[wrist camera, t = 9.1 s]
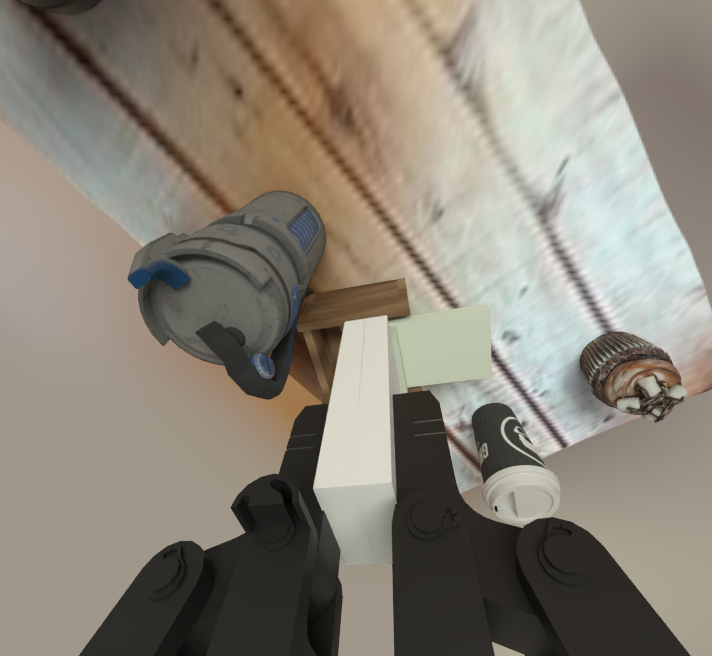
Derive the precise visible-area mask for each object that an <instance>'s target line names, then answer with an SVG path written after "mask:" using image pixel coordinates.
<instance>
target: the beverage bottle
mask: <svg viewBox="0 0 712 656" xmlns="http://www.w3.org/2000/svg"><path fill="white" fill-rule="evenodd" d="M325 242H326V234H325V228H324V224H323V221H322V219H321V217H320V215H319V213H318V212H317V211H316V209H315V208H314V207H313V206H312V205H311V204H310V203H309V202H308V201H307V200H305V199H304V198H302V197H301V196H299V195H296V194H294V193H291V192H286V191H272V192H268V193H265V194H263V195H261V196H259V197H257V198H256V199H254V200H253V201H252V202H251V203H249V204H248V205H246V206H244V207H242V208H241V209H239V210H237V211H236V212H234V213H231V214H228V215H226V216H224V217H222V218H220V219H218V220H216V221H215V222H213V223H211V224H209V225H208V226H207V227H205V228H203V229H201V230H199V231H197V232H195V233H194V234H192V235H190V236H188V235H186V234H184V233H183V234H181V235H180V236H176V235H175V234H174V233H168V234H166V235H164V236H162V237H160V238H158V239H156V240H154V241H152V242H150V243H149V244H147V245H146V246H145V247H143V248H142V249H141V250H139V251H138V252H137V253H136V254H135V258H134V260H133V263H132V266H131V269H130V272H129V276H128V280H129V282H130V283H131V284H132V285H133V286H134V287H135V288H136V289H139V291H138V301H139V306H140V311H141V314H142V316H143V319H144V321H145V324H146V325H147V327H148V328H149V330H150V332H151V333H152V334H153V336H154V337H155V338H156V339H157V340H158V341H159V342H160V344H162V346H164V345H165V344H166V343H167V342H168V341H169V340H172V341H173V342H174V343H175V344H176V345H177V346H178V347H179V348H181V349H183V350H184V351H186V352H187V353H189V354H190V355H192V356H194V357H196V358H199V359H201V360H203V361H207V362H210V363H213V364H218V365H224V366H225V368H226V370H227V373H228V375H229V376H230V377H231V378H232V379H233V380H234V382H236V384H237V385H238V386H239V387H240V388H241V389H242V390H243V391H244V392H245V393H246V394H248V395H251V396H255V397H259V398H263V399H272V398H274V397H276V396H278V395H279V394H280V393H281V392H282V390H283V388H284V385H285V383H286V380H287V376H288V374H289V370H290V364H291V358H292V352H293V345H294V339H295V333H296V327H297V321H298V315H299V311H300V309H301V306H302V304H303V302H304V299H305V297H306V296H307V295H309V294H311V293H313V292H314V291H313V290H312V289H310V288H308V287H307V286H308V284H309V282H310V280H311V277H312V275H313V273H314V271H315V269H316V267H317V265H318V263H319V260H320V258H321V256H322V254H323V251H324V248H325ZM271 352H272V354H271V358H270V357H269V356H268V354H270V353H271Z"/></svg>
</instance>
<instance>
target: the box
mask: <svg viewBox="0 0 712 656" xmlns="http://www.w3.org/2000/svg"><path fill="white" fill-rule="evenodd" d="M385 315H387V318H388V319H392V318H399V317H405V316H410V310H409V304H408V297H407V291H406V284H405V278H403V279H397V280H391V281H385V282H379V283H374V284H368V285H362V286H356V287H350V288H345V289H339V290H333V291H327V292H321V293H316V294H310V295H309V296H308V298H307V300H306V303H305V305H304V307H303V310H302V312H301V314H300V316H299V319H298V321H297V330H298V332H303V335H304V338H305V341H306V344H307V347H308V350H309V353H310V356H311V359H312V362H313V365H314V368H315V371H316V374H317V377H318V380H319V383H320V386H321V389H322V392H323V395H324V398H323V402H322V404H328V403H329V402H330V397H331V391H332V386H333V381H334V376H335V370H336V365H337V360H338V355H339V349H340V344H341V339H342V334H343V333H342V332H341V331H340V329H339V327H338V326H342V325H344V323H345V322H346V321H353V320H359V319H366V318H372V317H378V316H385ZM407 390H408V393H410V392H419V391H422V389H421V386H417V387H409V388H407Z"/></svg>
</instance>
